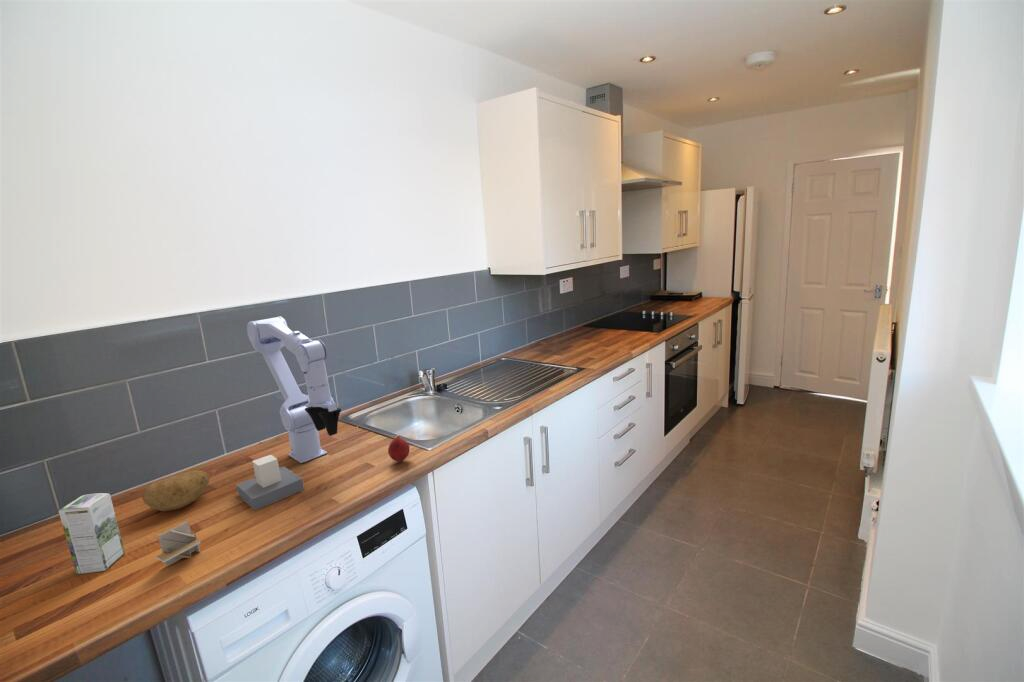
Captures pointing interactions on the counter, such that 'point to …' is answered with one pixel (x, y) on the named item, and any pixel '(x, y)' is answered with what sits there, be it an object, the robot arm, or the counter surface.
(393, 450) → the onion
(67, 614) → the counter surface
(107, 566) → the syrup box
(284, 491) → the riser block
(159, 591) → the counter surface
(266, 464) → the cream block
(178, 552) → the architectural model
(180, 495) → the potato
